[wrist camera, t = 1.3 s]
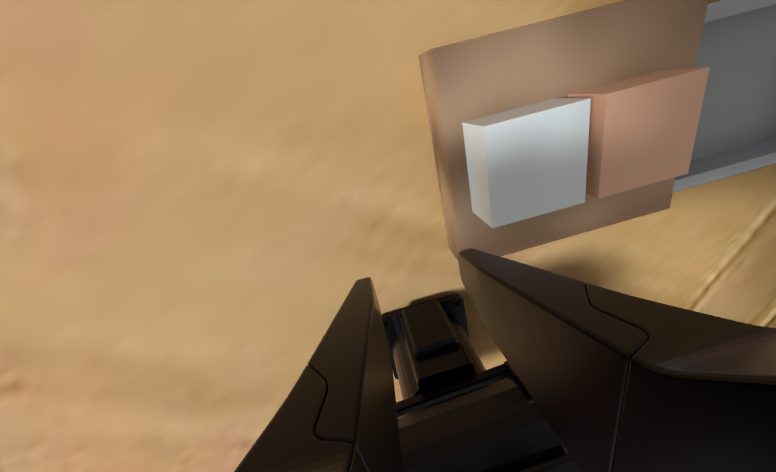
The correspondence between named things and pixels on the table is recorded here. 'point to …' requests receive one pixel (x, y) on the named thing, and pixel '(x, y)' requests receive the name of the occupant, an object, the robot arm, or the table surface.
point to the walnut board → (543, 82)
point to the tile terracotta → (642, 129)
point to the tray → (735, 92)
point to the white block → (528, 160)
